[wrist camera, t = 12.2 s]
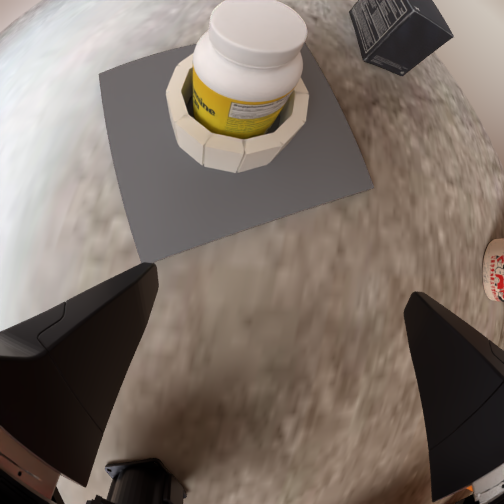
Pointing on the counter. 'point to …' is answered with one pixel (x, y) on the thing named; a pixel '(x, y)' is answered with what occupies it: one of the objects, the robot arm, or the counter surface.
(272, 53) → the pill bottle
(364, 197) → the counter surface
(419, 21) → the small box
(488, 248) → the teacup with lid
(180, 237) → the socket board
